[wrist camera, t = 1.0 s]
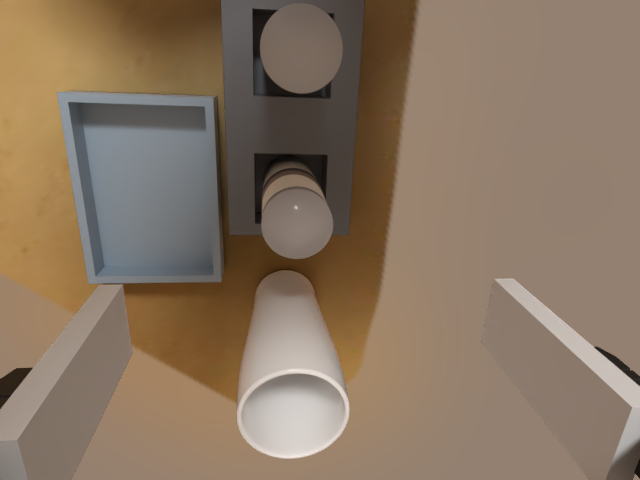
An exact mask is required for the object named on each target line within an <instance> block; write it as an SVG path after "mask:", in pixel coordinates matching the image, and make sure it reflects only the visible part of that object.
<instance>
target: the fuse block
mask: <svg viewBox="0 0 640 480" xmlns="http://www.w3.org/2000/svg"><path fill="white" fill-rule="evenodd" d="M295 3H306V4H311V5H314V6H316V7H318V8H320V9H322V10H323V11H325V12H326V13H327V14H328V15H329V16H330V17H331V18H332V19H333V21H334V22H335V23H336V25H337V27H338V29H339V32H340V34H341V38H342V45H343V54H342V60H341V64H340V67H339V69H338V71H337V73H336V75H335V76H334V77H333V79H332V80H331V81H330V82H329V83H328V84H327V85H326V86H324V87H323V88H321V89H319V90H317V91H314V92H311V93H302V94H300V93H294V92H290V91H287V90H285V89H283V88H281V87H280V86H279V85H277V84H276V83H275V82H274V81H273V80H272V79H271V78H270V77H269V76H268V74H267V73H266V71H265V69H264V66H263V63H262V60H261V55H260V40H261V35H262V32H263V29H264V27H265V25H266V23H267V22H268V20H269V19H270V18H271V16H272V15H273V14H274V13H275V12H277V11H278V10H279V9H281V8H283V7H285V6H287V5H290V4H295ZM364 5H365V0H221V15H222V43H223V71H224V99H225V127H226V155H227V183H228V211H229V235H263V234H262V229H261V221H262V192H263V180H264V173H265V170H266V168H267V167H268V165H269V164H270V163H271V162H272V161H273V160H274V159H276V158H278V157H280V156H284V155H294V156H297V157H300V158H302V159H303V160H305V161H306V162H307V163H308V164H309V165H310V167H311V169H312V171H313V173H314V175H315V178H316V180H317V181H318V183H319V185H320V187H321V189H322V192H323V194H324V197H325V200H326V202H327V205H328V207H329V209H330V211H331V214H332V217H333V231H332V235H349V225H350V210H351V195H352V181H353V166H354V152H355V137H356V122H357V108H358V93H359V78H360V64H361V49H362V34H363V20H364Z"/></svg>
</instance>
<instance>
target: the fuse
mask: <svg viewBox="0 0 640 480" xmlns="http://www.w3.org/2000/svg"><path fill="white" fill-rule="evenodd" d="M342 54H343V45H342V38H341V34H340V32H339V29H338V27H337V25H336V23H335V22H334V21H333V19H332V18H331V17H330V16H329V15H328V14H327V13H326V12H325V11H323V10H322V9H320V8H318V7H316V6H314V5H311V4H306V3H295V4H290V5H287V6H285V7H283V8H281V9H279V10H278V11H277V12H275V13H274V14H273V15H272V16H271V18H270V19H269V20H268V22H267V23H266V25H265V27H264V29H263V32H262V35H261V40H260V55H261V60H262V63H263V66H264V69H265V71H266V73H267V74H268V76H269V77H270V78H271V79H272V80H273V81H274V82H275V83H276V84H277V85H279V86H280V87H281V88H283V89H285V90H287V91H290V92H294V93H300V94H302V93H311V92H314V91H317V90H319V89H321V88H323V87H324V86H326V85H327V84H328V83H329V82H330V81H331V80H332V79H333V77H334V76H335V75H336V73H337V71H338V69H339V67H340V64H341V60H342Z"/></svg>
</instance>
